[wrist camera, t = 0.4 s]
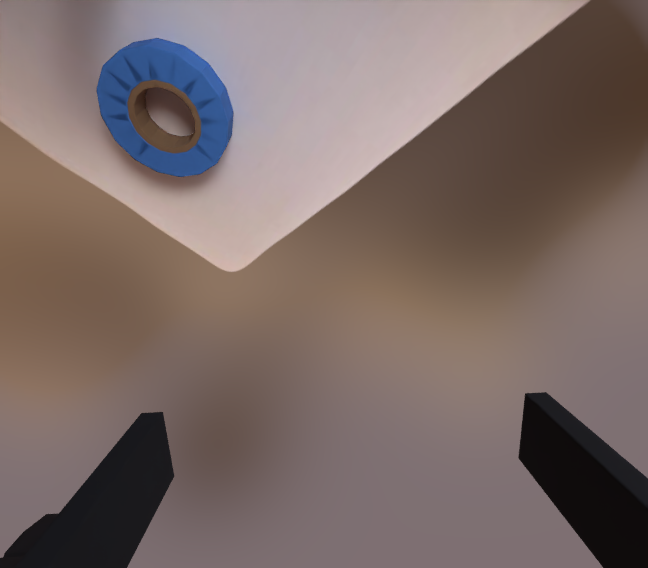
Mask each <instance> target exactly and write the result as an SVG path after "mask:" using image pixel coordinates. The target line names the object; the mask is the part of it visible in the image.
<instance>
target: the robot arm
mask: <svg viewBox="0 0 648 568" xmlns="http://www.w3.org/2000/svg"><path fill="white" fill-rule="evenodd" d="M519 459H520V461H521V462H522V463H523V465H524V466H525V467H526V468H527V470H528V471H529V472H530V474H531V475H532V476H533V477H534V479H535V480H536V481H537V483H538V484H539V485H540V486H541V487H542V489H543V490H544V492H545V493H546V494H547V495H548V497H549V498H550V499H551V501H552V502H553V503H554V505H555V506H556V507H557V508H558V510H559V511H560V512H561V514H562V515H563V516H564V517H565V519H566V520H567V521H568V523H569V524H570V525H571V526H572V528H573V529H574V530H575V532H576V533H577V534H578V535H579V537H580V538H581V539H582V541H583V542H584V543H585V545H586V546H587V547H588V548H589V550H590V551H591V552H592V553H593V555H594V556H595V557H596V559H597V560H598V561H599V563H600V564H601V565H602V566H603V568H648V478H646V477H645V476H644V475H643V474H642V473H641V472H639V471H638V470H637V469H636V468H635V467H634V466H632V465H631V464H630V463H629V462H628V461H627V460H625V459H624V458H623V457H621V456H620V455H619V454H618V453H617V452H616V451H615V450H614V449H612V448H611V447H610V446H609V445H608V444H606V443H605V442H604V441H603V440H602V439H601V438H599V437H598V436H597V435H596V434H595V433H593V432H592V431H591V430H590V429H588V427H586V426H585V425H584V424H583V423H582V422H581V421H579V420H578V419H577V418H576V417H574V416H573V415H572V414H571V413H570V412H569V411H567V410H566V409H565V408H564V407H563V406H562V405H560V404H559V403H558V402H557V401H556V400H555V399H553V398H552V397H551V396H550V395H548V394H547V393H546V392H545V393H527V394H525V401H524V410H523V421H522V431H521V440H520V449H519ZM173 478H174V473H173V468H172V461H171V455H170V450H169V445H168V438H167V433H166V427H165V421H164V416H163V412H155V413H141V414H140V416H139V417H138V418H137V419H136V421H135V422H134V423H133V424H132V425H131V427H130V428H129V429H128V430H127V431H126V433H125V434H124V435H123V436H122V438H121V439H120V440H119V441H118V442H117V444H116V445H115V446H114V447H113V449H112V450H111V451H110V452H109V453H108V455H107V456H106V457H105V458H104V459H103V461H102V462H101V463H100V464H99V466H98V467H97V468H96V469H95V471H94V472H93V473H92V474H91V475H90V476H89V478H88V479H87V480H86V481H85V483H84V484H83V485H82V486H81V488H80V489H79V490H78V491H77V492H76V494H75V495H74V496H73V497H72V498H71V500H70V501H69V502H68V503H67V504H66V506H65V507H64V508H63V509H62V511H61V512H60V513H59V514H46V515H45V516H43V517H42V518H41V519H40V520H38V521H37V522H36V523H34V524H33V525H32V526H31V527H29V528H28V529H27V530H25V531H24V532H23V533H22V534H21V535H20V536H19V538H18V539H17V540H16V541H15V542H14V543H13V544H12V546H11V547H10V548H9V549H8V550H7V551H6V552H5V554H4V557H3V558H0V568H127V567H128V564H129V563H130V561H131V559H132V557H133V555H134V553H135V551H136V549H137V547H138V545H139V543H140V541H141V539H142V538H143V536H144V534H145V532H146V530H147V528H148V526H149V524H150V522H151V520H152V518H153V516H154V514H155V512H156V510H157V509H158V506H159V505H160V503H161V501H162V499H163V497H164V495H165V493H166V491H167V489H168V487H169V485H170V483H171V481H172V480H173Z"/></svg>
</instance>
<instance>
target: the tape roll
mask: <svg viewBox="0 0 648 568" xmlns="http://www.w3.org/2000/svg"><path fill="white" fill-rule="evenodd" d="M154 87H159V88H163V89H167V90H170V91H171V92H173V93H174V94H176V95H177V96H179V97H180V98H182V100H183V101H184V102H185V103H186V104H187V106H188V107H189V108H190V110H191V113H192V115H193V118H194V120H195V132H194V133H193V134H191V135H188V136H182V137H180V136H176V135H171V134H169V133H167V132H166V131H164V130H162V129H161V128H159V126H158V125H157V124H156V123H155V122H154V121H153V120H152V119H151V117H150V115H149V113H148V111H147V108H146V103H145V94H146V91H147V89H148V88H154ZM97 96H98V101H99V106H100V112H101V116H102V118H103V120H104V121H105V123H106V125H107V127H108V128H109V130H110V132H111V134H112V136H113V137H114V139H115V141H116V142H117V143H118V144H119V145H120V146H121V147H122V148H123V149H124V150H125V151H127V152H128V153H129V154H130V155H131V156H132V157H133V158H134V159H135V160H137V161H139V162H140V163H142V164H144V165H146V166H147V167H149V168H151V169H153V170H155V171H156V172H160V173H164V174H169V175H173V176H178V177H183V176H190V175H198V174H201V173H203V172H204V171H206V170H208V169H209V168H211V167H212V166H214V165H215V164H217V163H218V161H219V159H220V157H221V155H222V154H223V152H224V150H225V148H226V147H227V144H228V142H229V140H230V138H231V136H232V127H233V109H232V106H231V103H230V99H229V96H228V93H227V90H226V87H225V86H224V84H223V83H222V81H221V80H220V79H219V77H218V76H217V74H216V73H215V72H214V70H213V69H212V67H211V66H210V65H209V64H208V63H207V62H206V61H205V60H203V59H202V58H200V57H199V56H198V55H196V54H195V53H194V52H192V51H191V50H190V49H188V48H187V47H186V46H184V45H180V44H177V43H173V42H170V41H166V40H163V39H159V38H155V39H149V40H144V41H138V42H133V43H131V44H130V45H128V46H126V47H124V48H122V49H121V50H119V51H118V52H117V53H116V54H115V55H114V56H113V57H112V58H111V59H109V60H108V61H107V62H106V63H105V64H104V65H103V67H102V70H101V74H100V78H99V82H98V86H97Z"/></svg>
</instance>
